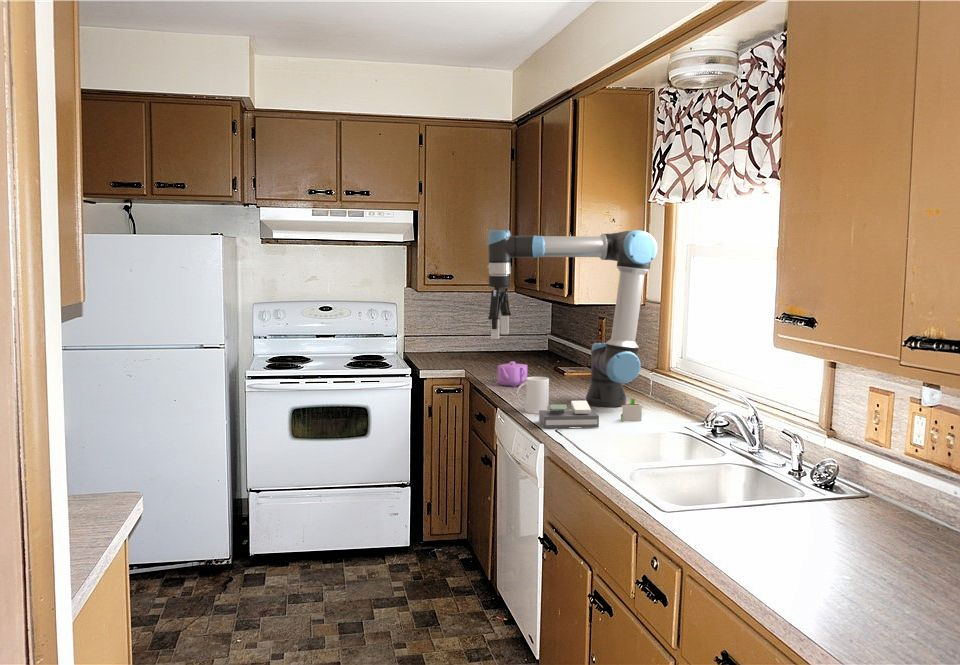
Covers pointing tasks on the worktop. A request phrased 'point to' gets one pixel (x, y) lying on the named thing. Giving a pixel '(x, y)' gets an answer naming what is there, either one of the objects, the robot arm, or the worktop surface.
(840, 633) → the worktop surface
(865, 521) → the worktop surface
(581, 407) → the rocker cream
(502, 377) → the teapot
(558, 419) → the switch panel
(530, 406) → the mug
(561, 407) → the rocker green
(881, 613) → the worktop surface
